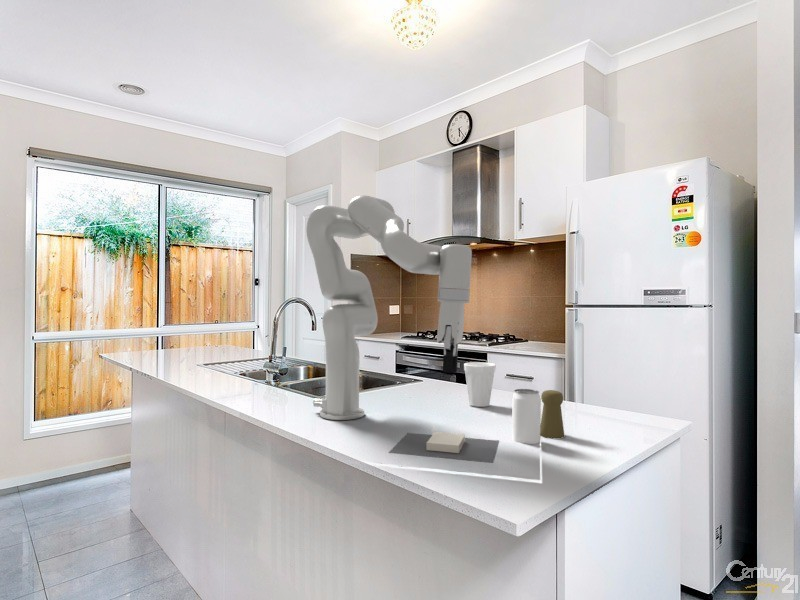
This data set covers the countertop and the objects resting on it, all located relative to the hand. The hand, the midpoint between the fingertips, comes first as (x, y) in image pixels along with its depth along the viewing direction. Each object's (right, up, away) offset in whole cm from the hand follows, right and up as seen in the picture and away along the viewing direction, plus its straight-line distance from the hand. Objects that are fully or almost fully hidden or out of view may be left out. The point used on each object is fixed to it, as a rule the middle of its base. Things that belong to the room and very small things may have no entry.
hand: (449, 371), depth 118 cm
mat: (-2, -16, -9) cm, 18 cm away
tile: (0, -14, -5) cm, 15 cm away
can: (+18, -16, -3) cm, 24 cm away
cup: (+13, -16, +36) cm, 41 cm away
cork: (+26, -16, +3) cm, 30 cm away
